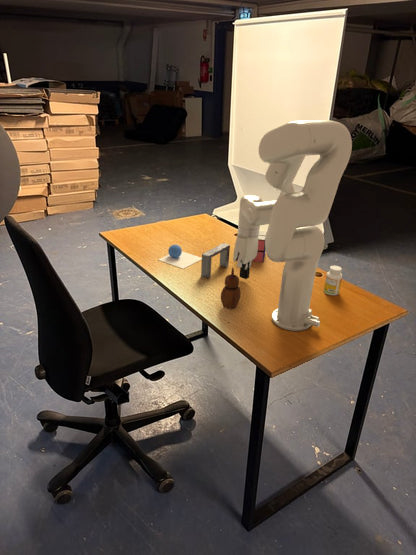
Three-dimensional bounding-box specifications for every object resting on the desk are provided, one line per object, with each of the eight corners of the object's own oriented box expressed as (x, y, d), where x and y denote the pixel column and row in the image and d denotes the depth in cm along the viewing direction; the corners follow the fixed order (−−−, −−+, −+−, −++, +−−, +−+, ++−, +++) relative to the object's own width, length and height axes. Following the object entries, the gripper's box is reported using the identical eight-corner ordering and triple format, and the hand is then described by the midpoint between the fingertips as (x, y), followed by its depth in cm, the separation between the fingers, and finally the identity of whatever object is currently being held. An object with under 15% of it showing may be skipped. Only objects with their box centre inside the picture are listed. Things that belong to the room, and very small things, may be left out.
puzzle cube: (263, 263, 174) (265, 240, 170) (238, 260, 176) (240, 237, 171) (265, 253, 183) (267, 231, 179) (242, 250, 185) (243, 229, 180)
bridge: (228, 266, 170) (230, 244, 165) (207, 278, 159) (208, 256, 155) (222, 264, 171) (223, 242, 167) (201, 276, 160) (201, 254, 156)
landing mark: (203, 258, 175) (203, 258, 175) (183, 269, 165) (183, 268, 165) (178, 250, 182) (178, 250, 181) (158, 260, 172) (158, 259, 172)
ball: (185, 255, 175) (182, 242, 173) (177, 259, 171) (174, 246, 169) (175, 255, 178) (172, 243, 177) (167, 259, 174) (164, 246, 173)
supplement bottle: (332, 287, 157) (337, 263, 152) (341, 294, 152) (347, 270, 148) (320, 289, 155) (324, 265, 151) (329, 296, 151) (334, 271, 146)
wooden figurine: (232, 313, 137) (236, 271, 131) (217, 307, 140) (220, 266, 133) (242, 304, 143) (246, 264, 136) (227, 299, 145) (230, 259, 139)
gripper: (249, 223, 157) (245, 268, 165) (228, 234, 146) (224, 281, 154) (267, 228, 153) (262, 273, 162) (246, 239, 142) (242, 287, 150)
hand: (244, 277), depth 158 cm, fingers closed
